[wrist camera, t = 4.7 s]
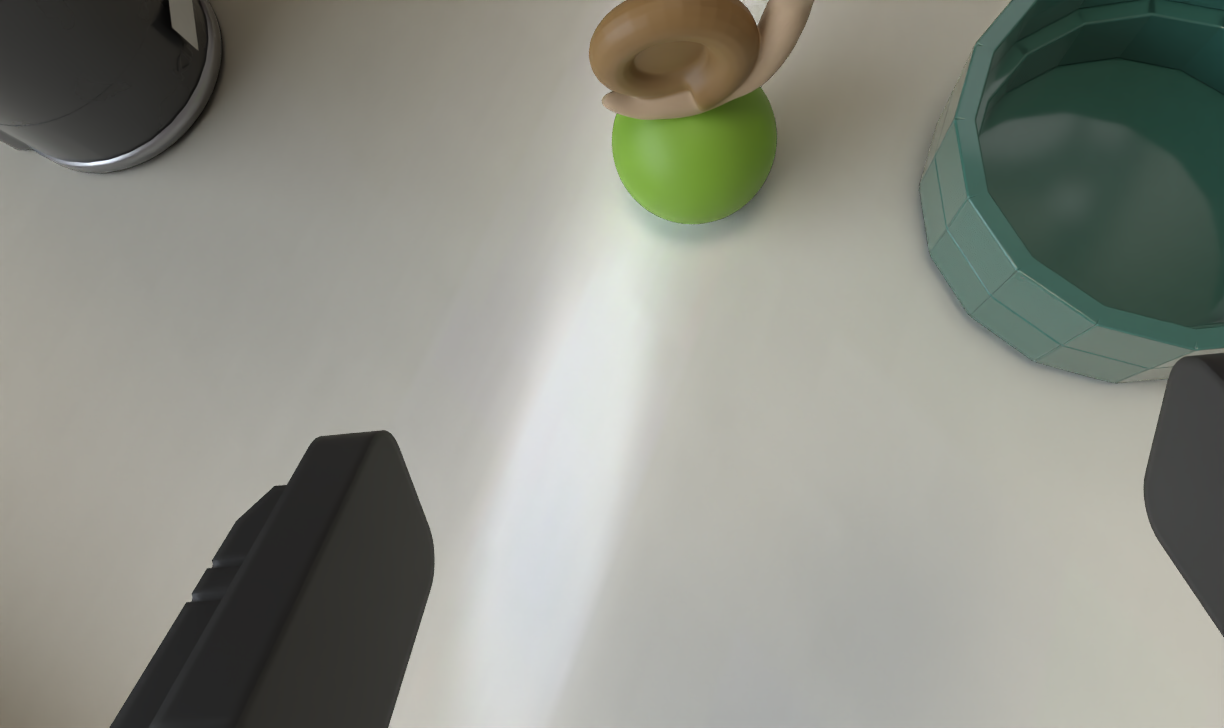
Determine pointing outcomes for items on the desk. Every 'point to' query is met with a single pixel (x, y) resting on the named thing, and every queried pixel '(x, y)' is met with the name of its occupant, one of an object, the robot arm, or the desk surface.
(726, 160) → the snail figurine
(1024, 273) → the bowl
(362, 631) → the robot arm
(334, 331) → the desk surface
